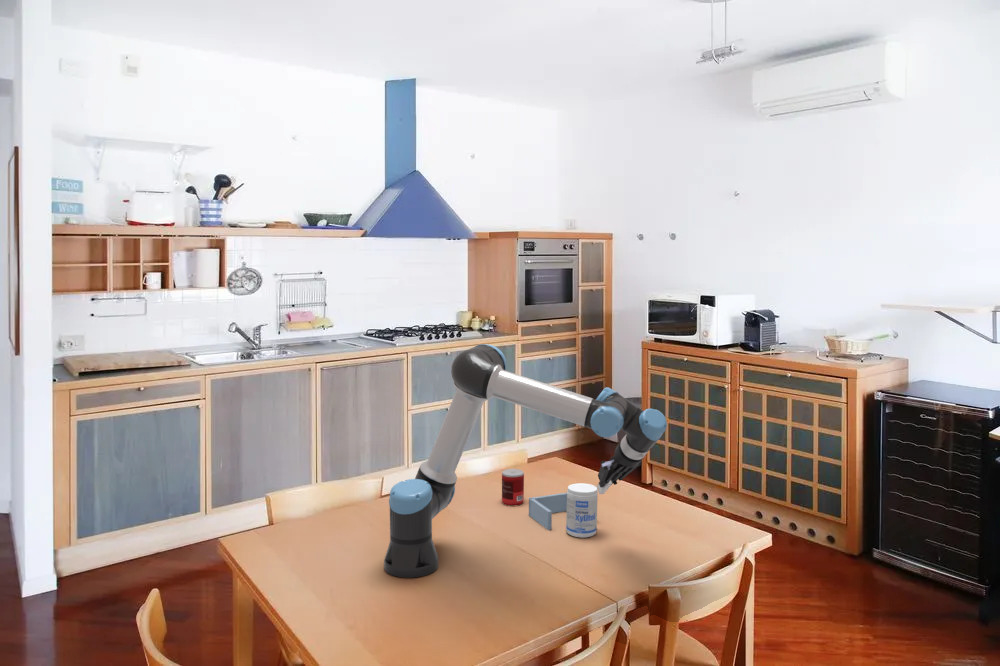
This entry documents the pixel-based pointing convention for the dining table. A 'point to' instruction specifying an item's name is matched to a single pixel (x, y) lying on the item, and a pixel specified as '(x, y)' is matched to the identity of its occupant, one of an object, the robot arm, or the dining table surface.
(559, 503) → the bay
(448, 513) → the dining table surface
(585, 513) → the supplement tub
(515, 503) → the canned food
